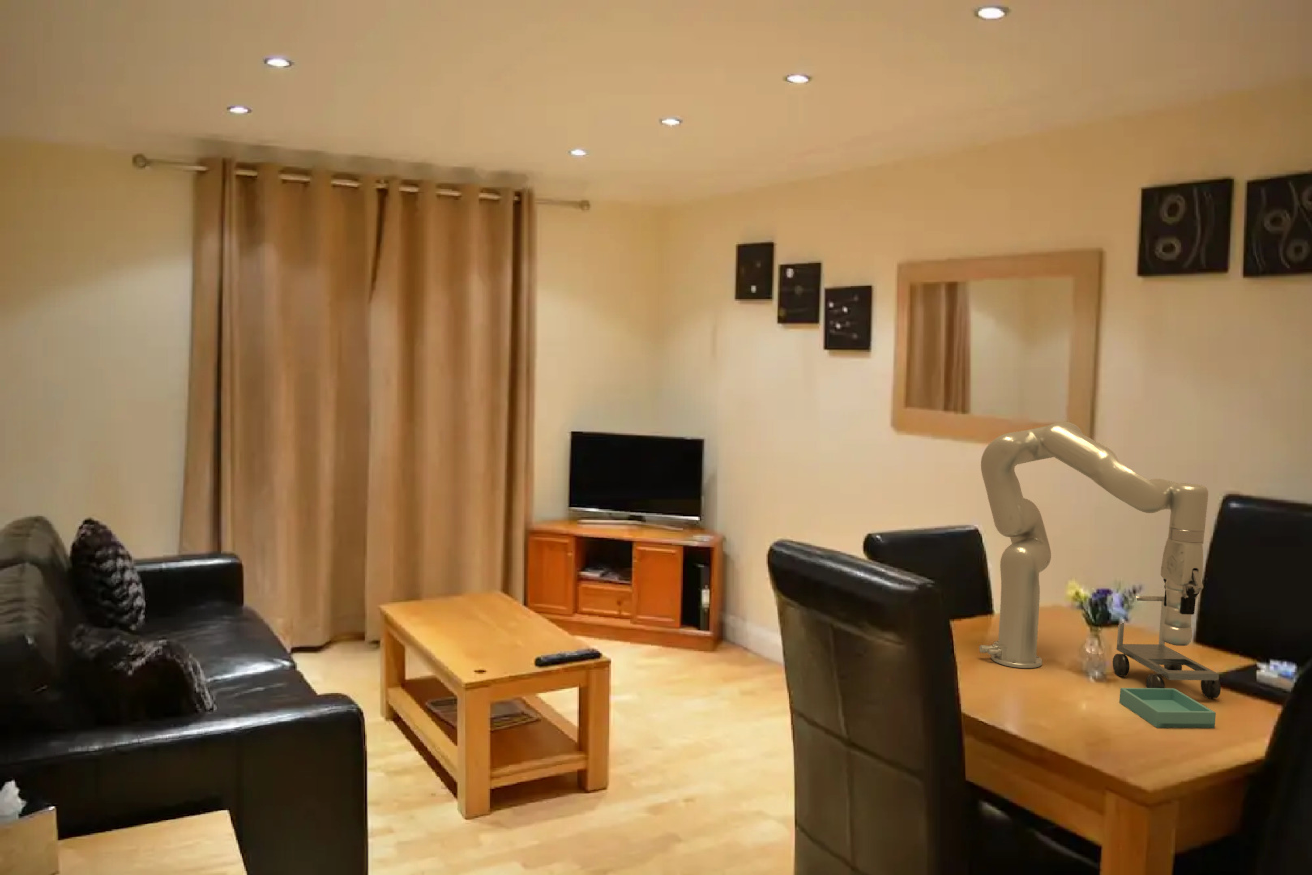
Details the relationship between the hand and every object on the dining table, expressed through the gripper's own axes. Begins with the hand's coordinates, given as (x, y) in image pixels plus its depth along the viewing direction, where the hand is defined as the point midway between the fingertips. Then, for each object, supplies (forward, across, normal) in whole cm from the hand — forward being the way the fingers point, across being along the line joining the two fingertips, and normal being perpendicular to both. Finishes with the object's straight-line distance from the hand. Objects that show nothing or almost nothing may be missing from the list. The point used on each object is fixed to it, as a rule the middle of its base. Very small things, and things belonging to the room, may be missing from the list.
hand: (1178, 609), depth 245 cm
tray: (+20, +16, -10) cm, 28 cm away
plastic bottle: (+9, 0, 0) cm, 9 cm away
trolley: (+20, -5, +1) cm, 21 cm away
